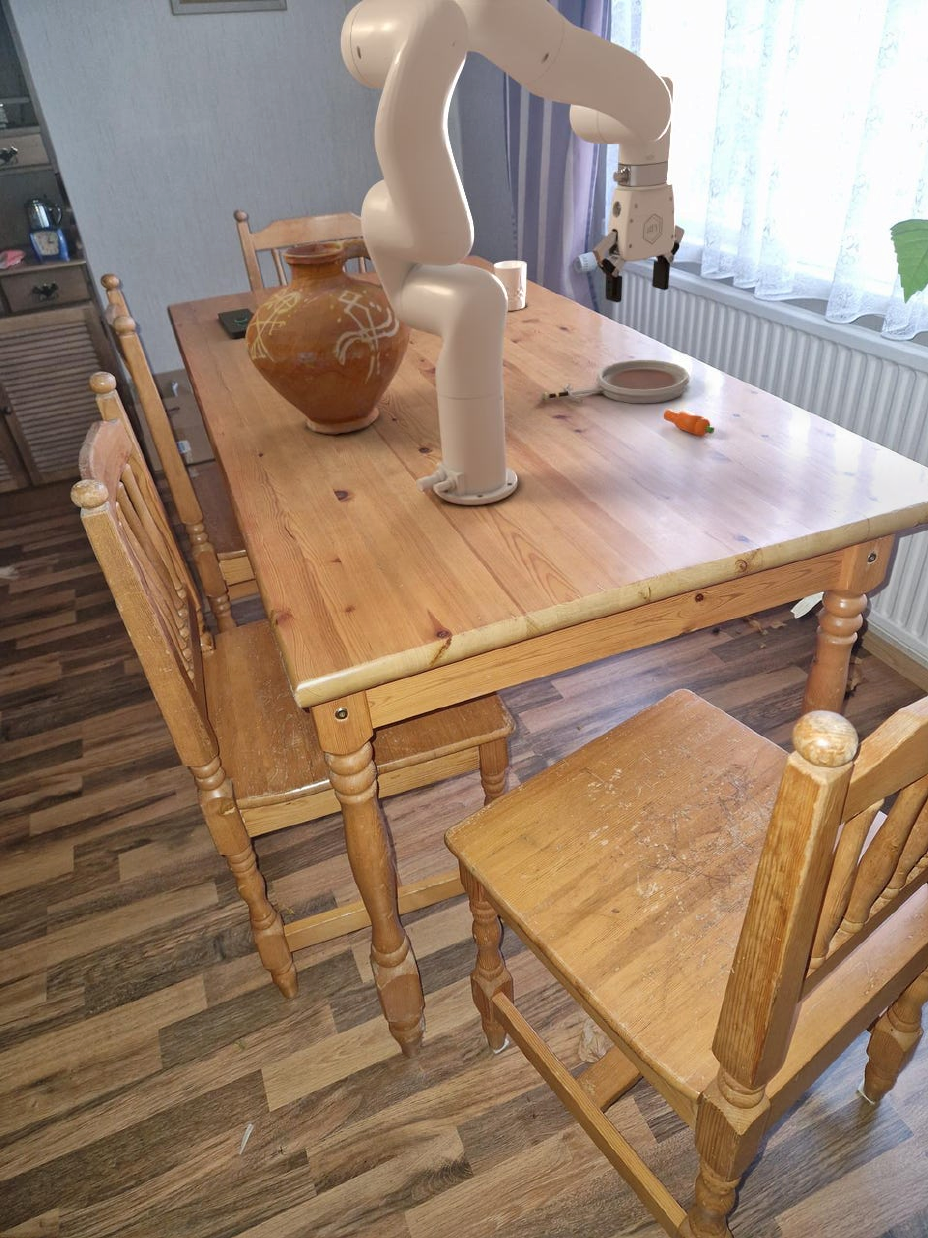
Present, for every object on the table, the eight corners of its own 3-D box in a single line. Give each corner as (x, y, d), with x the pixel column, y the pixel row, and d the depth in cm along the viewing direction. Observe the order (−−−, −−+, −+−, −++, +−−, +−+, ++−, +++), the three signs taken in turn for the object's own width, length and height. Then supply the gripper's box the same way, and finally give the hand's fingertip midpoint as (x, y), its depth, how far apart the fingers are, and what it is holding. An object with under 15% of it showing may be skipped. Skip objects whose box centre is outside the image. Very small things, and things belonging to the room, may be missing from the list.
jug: (253, 410, 155) (215, 241, 138) (394, 383, 162) (374, 219, 145) (281, 467, 134) (239, 275, 116) (441, 432, 141) (425, 247, 123)
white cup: (491, 311, 199) (489, 268, 193) (500, 302, 205) (498, 260, 199) (523, 311, 197) (522, 268, 191) (530, 302, 203) (529, 260, 197)
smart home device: (230, 332, 193) (216, 312, 208) (232, 339, 194) (218, 319, 209) (264, 325, 196) (248, 307, 211) (266, 332, 197) (249, 314, 212)
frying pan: (529, 374, 155) (668, 352, 158) (529, 389, 156) (667, 367, 159) (554, 406, 141) (706, 381, 144) (554, 421, 143) (704, 397, 146)
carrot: (717, 436, 132) (719, 418, 130) (704, 441, 131) (706, 424, 129) (670, 419, 139) (672, 402, 137) (658, 424, 137) (659, 407, 136)
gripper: (613, 186, 115) (609, 310, 125) (704, 168, 121) (693, 287, 131) (581, 181, 120) (579, 300, 130) (670, 164, 127) (662, 279, 137)
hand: (637, 294), depth 131 cm, fingers open, 9 cm apart
